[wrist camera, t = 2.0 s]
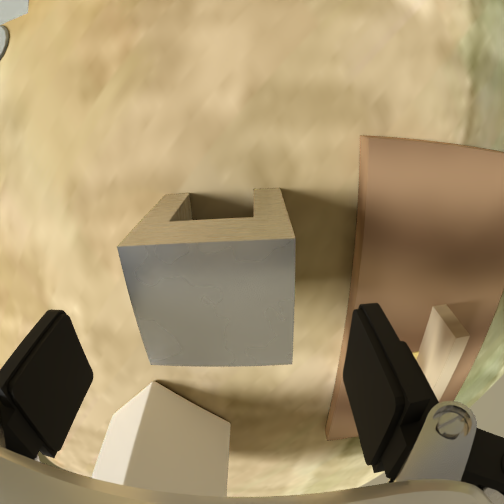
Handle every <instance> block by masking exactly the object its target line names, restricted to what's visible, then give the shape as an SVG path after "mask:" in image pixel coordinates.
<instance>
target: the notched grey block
mask: <svg viewBox="0 0 504 504" xmlns="http://www.w3.org/2000/svg"><path fill="white" fill-rule="evenodd" d="M295 244H296V238H295V235H294V232H293V229H292V225H291V222H290V219H289V216H288V212H287V209H286V206H285V203H284V200H283V197H282V194H281V191H280V188H267V189H254V217H247V218H226V219H207V220H193V219H192V210H191V201H190V193H180V194H168V195H165V196H164V197H163V198H162V199H161V200H160V201H159V202H158V203H157V204H156V205H155V206H154V207H153V208H152V209H151V210H150V211H149V212H148V213H147V214H146V215H145V216H144V218H143V219H142V220H141V221H140V222H139V223H138V224H137V225H136V226H135V227H134V228H133V229H132V231H131V232H130V233H129V234H128V235H127V236H126V237H125V238H124V239H123V241H122V242H121V243H120V244H119V245H118V246H117V248H118V252H119V257H120V261H121V265H122V269H123V273H124V277H125V281H126V285H127V289H128V292H129V296H130V300H131V303H132V307H133V310H134V314H135V317H136V321H137V324H138V327H139V330H140V334H141V337H142V340H143V343H144V346H145V349H146V352H147V355H148V358H149V361H150V364H151V365H169V366H266V365H286V364H292V357H293V332H294V301H295Z"/></svg>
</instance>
